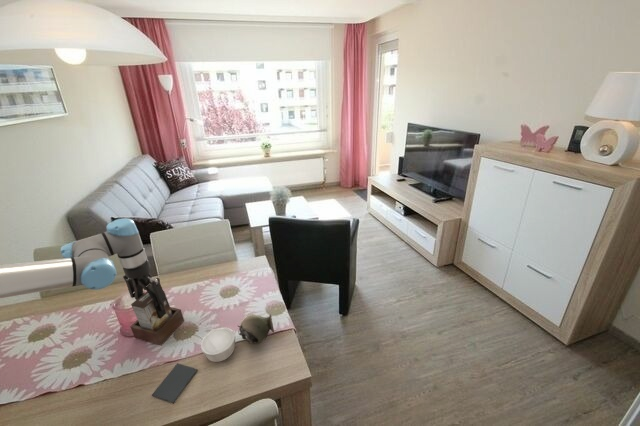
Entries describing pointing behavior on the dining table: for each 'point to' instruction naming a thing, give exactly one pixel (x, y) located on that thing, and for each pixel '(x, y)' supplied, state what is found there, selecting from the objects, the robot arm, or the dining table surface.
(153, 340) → the holder
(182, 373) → the mat
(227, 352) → the ramekin
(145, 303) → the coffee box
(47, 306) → the dining table surface
